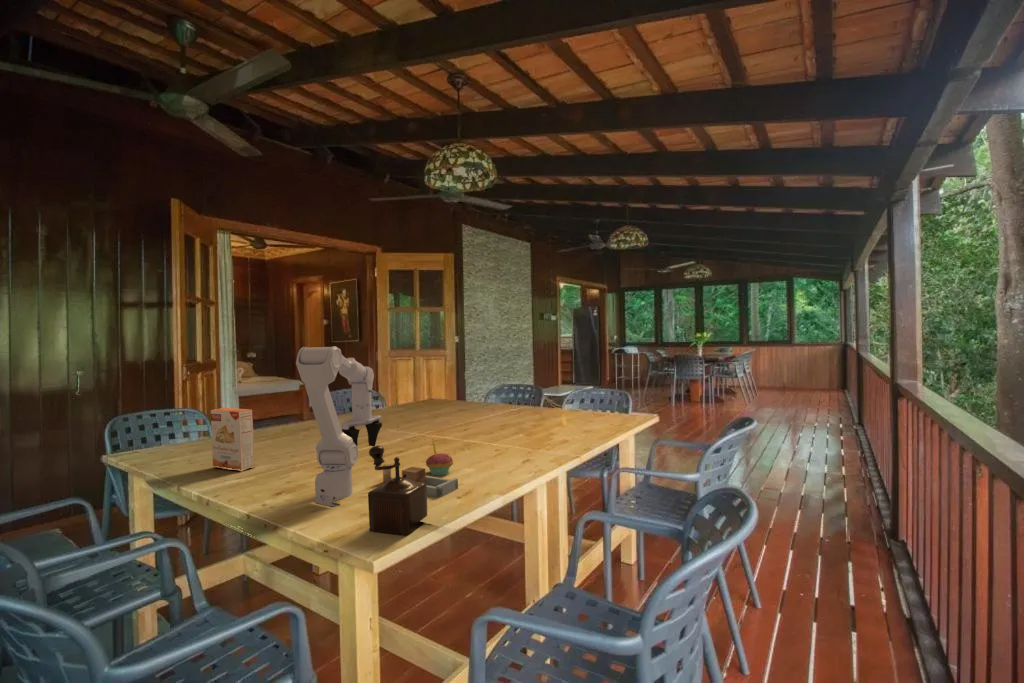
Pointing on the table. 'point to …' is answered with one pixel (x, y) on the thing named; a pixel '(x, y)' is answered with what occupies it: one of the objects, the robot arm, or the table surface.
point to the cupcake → (439, 462)
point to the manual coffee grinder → (396, 501)
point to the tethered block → (412, 474)
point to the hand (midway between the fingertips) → (363, 448)
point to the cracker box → (232, 438)
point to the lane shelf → (440, 486)
